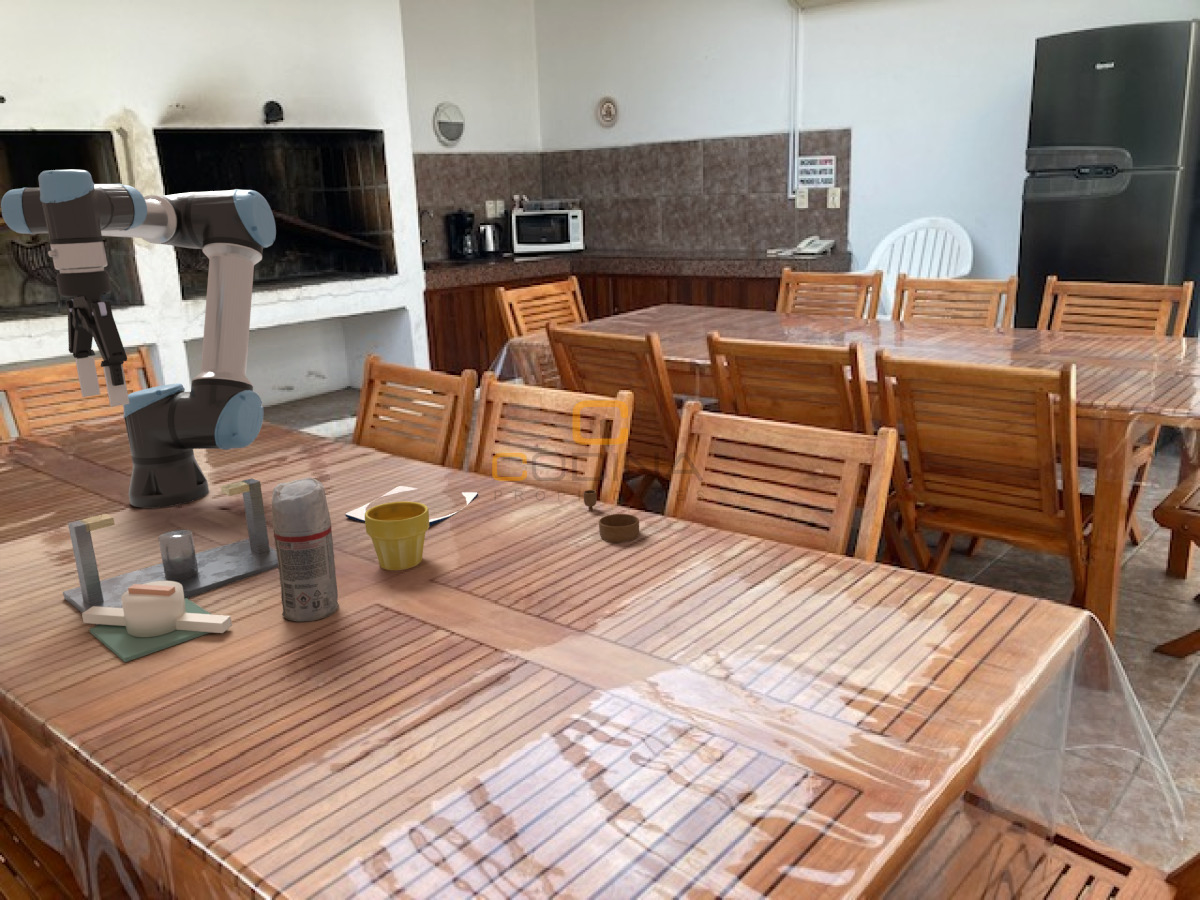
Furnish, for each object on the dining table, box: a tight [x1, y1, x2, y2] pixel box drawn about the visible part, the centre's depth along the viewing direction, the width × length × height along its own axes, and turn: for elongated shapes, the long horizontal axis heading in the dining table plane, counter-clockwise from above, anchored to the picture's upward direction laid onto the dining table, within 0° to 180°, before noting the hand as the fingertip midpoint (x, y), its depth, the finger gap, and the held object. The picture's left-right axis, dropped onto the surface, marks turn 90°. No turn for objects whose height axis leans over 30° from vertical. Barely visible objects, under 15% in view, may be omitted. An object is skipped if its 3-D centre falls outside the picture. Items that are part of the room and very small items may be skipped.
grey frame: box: [62, 478, 278, 627], centre depth 152 cm, size 31×16×14 cm, turn 135°
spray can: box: [271, 476, 340, 622], centre depth 137 cm, size 8×8×20 cm
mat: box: [89, 598, 213, 663], centre depth 135 cm, size 14×14×1 cm
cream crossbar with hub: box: [81, 581, 233, 637], centre depth 135 cm, size 22×8×6 cm, turn 80°
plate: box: [344, 485, 479, 527], centre depth 182 cm, size 20×20×3 cm
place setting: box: [582, 489, 640, 544], centre depth 165 cm, size 18×20×6 cm
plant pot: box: [364, 500, 430, 571], centre depth 155 cm, size 10×10×10 cm
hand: (105, 400), depth 156 cm, fingers open, 13 cm apart
